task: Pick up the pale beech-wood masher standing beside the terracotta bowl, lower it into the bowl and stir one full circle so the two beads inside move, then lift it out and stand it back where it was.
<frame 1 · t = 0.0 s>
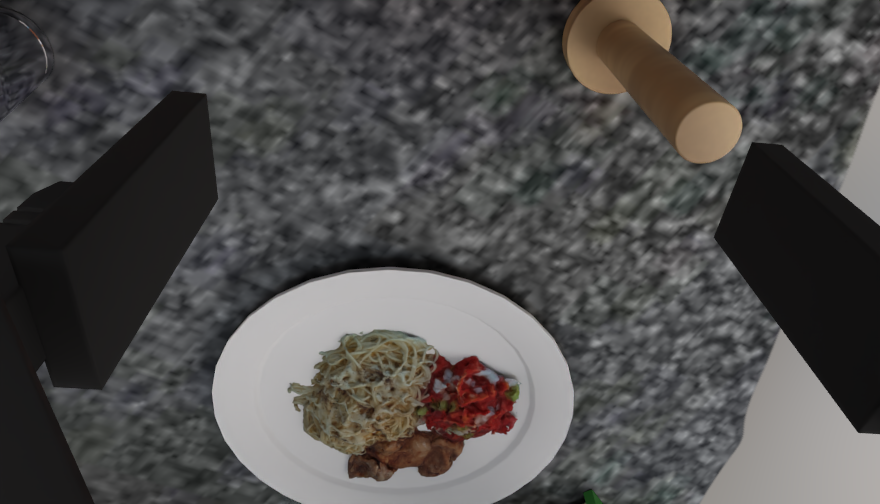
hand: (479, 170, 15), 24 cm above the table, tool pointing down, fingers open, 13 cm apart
cup with straw: (13, 42, 36), on the table
masher: (612, 36, 36), on the table
plated food: (396, 397, 53), on the table
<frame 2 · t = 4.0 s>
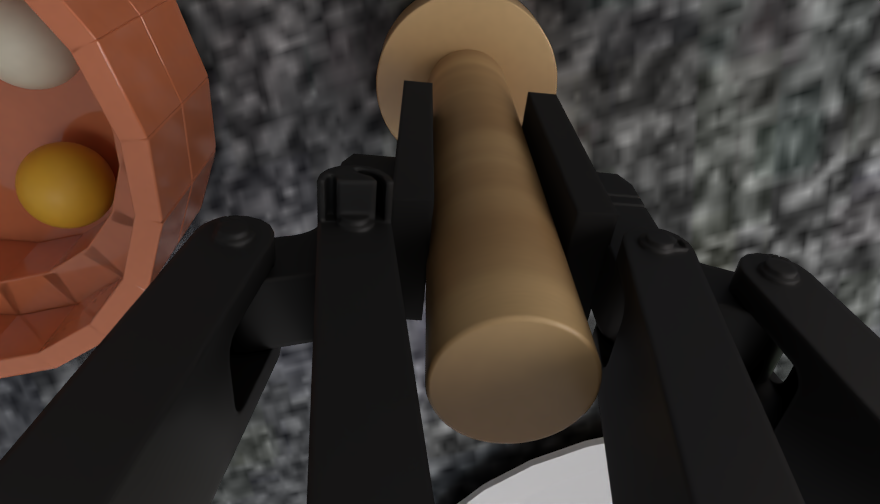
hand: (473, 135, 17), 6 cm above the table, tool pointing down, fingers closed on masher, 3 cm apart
bead b: (29, 38, 19), point 2 cm above the table, touching bowl
bead a: (67, 185, 21), point 2 cm above the table, touching bowl
masher: (464, 74, 22), on the table, touching gripper
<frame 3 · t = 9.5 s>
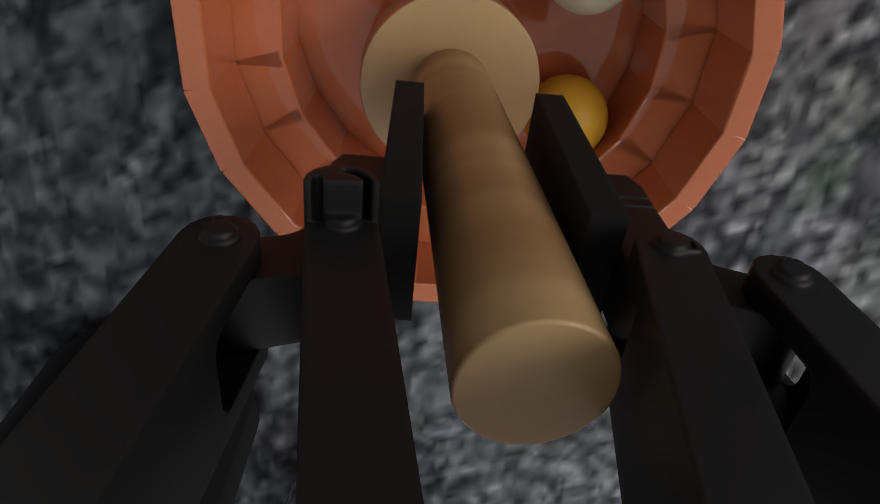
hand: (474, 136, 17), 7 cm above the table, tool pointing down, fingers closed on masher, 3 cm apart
bowl: (468, 20, 22), on the table
coffee jar: (165, 385, 33), on the table
bead a: (565, 117, 22), point 2 cm above the table, touching bowl, masher
masher: (446, 74, 22), point 2 cm above the table, touching bead a, gripper
when the fingers open (6 cm above the table, at t = 15.5 s): masher stays where it is, on the table.
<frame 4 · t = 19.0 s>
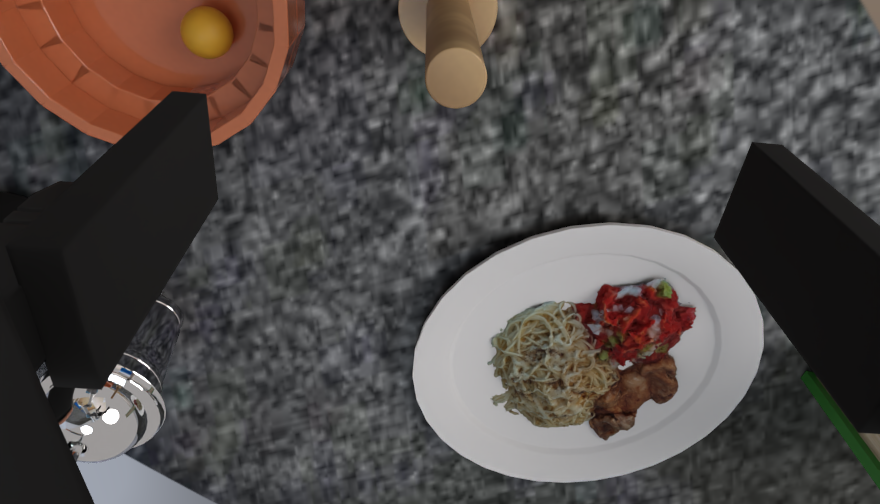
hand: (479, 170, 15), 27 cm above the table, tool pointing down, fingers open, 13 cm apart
cup with straw: (153, 311, 51), on the table
coffee jar: (22, 243, 47), on the table
bead a: (207, 32, 37), point 2 cm above the table, tilted 41°, touching bowl
masher: (447, 4, 38), on the table
plated food: (580, 357, 55), on the table
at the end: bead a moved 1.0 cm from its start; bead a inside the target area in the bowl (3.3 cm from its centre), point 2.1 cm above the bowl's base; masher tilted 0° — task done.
